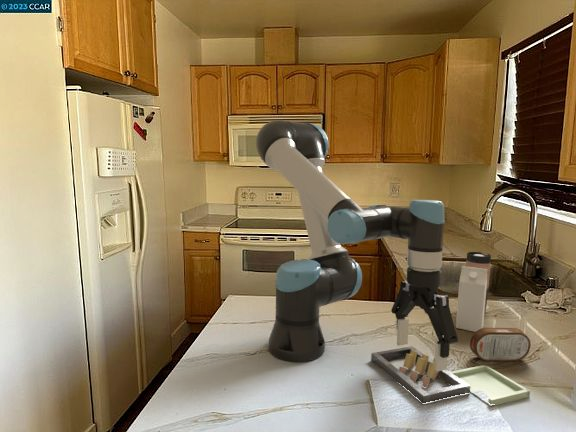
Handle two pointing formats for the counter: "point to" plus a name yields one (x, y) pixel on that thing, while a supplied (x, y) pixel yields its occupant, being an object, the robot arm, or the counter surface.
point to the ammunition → (419, 367)
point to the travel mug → (480, 265)
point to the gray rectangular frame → (423, 396)
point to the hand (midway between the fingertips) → (420, 356)
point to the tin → (500, 344)
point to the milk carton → (471, 298)
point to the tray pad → (492, 384)
